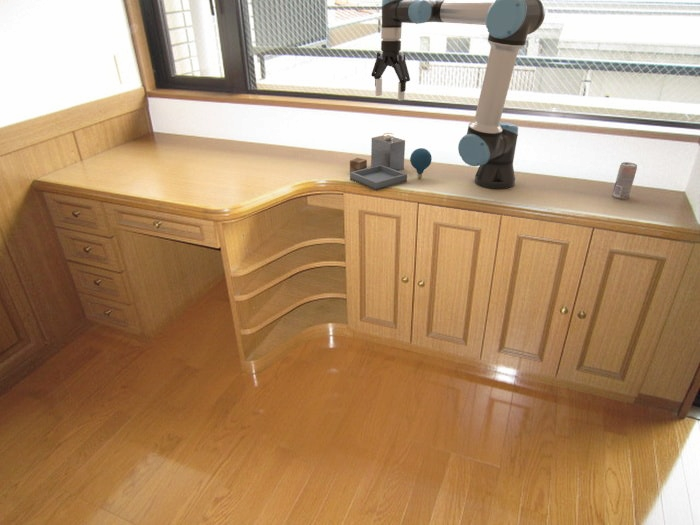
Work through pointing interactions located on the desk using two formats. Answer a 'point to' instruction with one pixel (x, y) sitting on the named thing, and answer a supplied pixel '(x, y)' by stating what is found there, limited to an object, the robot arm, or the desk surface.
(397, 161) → the block
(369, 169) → the tray
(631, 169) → the energy drink
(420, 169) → the light bulb
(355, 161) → the walnut block
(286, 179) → the desk surface
